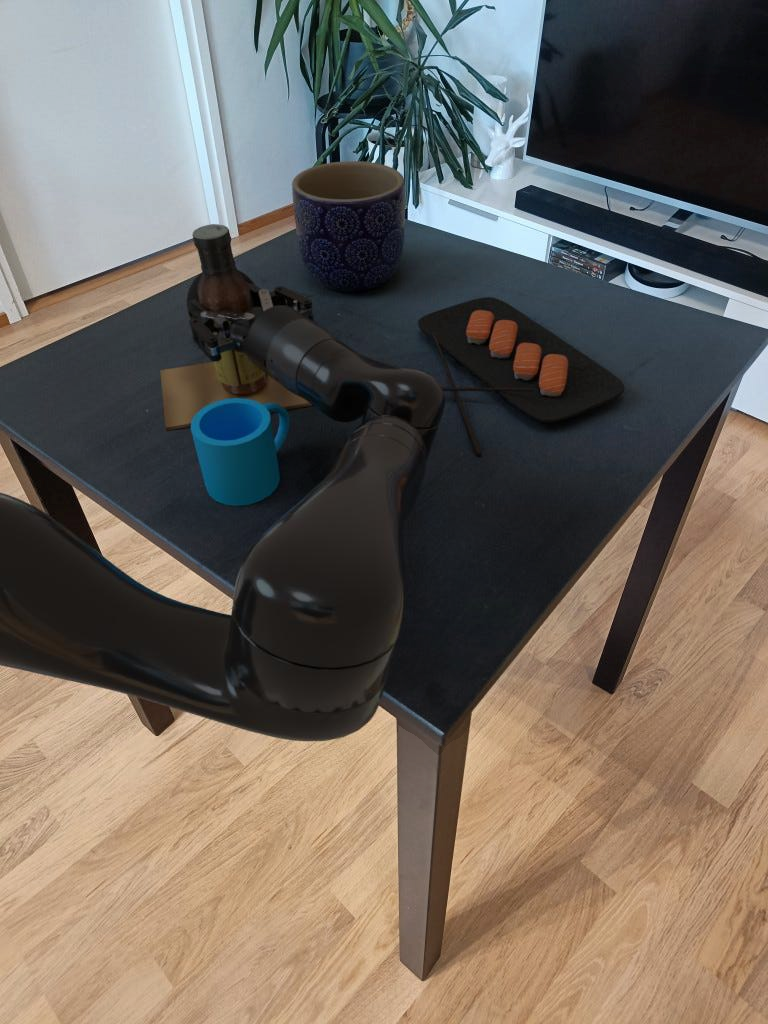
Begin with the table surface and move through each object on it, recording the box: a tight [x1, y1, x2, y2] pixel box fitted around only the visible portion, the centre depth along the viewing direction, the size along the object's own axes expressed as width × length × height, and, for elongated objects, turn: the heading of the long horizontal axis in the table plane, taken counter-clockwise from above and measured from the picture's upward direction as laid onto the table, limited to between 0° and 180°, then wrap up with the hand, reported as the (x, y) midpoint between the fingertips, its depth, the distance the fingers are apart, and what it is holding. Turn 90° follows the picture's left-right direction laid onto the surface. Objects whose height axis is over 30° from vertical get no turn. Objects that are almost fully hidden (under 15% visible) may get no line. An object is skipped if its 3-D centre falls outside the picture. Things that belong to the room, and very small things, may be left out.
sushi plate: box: [417, 296, 626, 457], centre depth 91 cm, size 29×30×4 cm
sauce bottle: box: [192, 223, 268, 395], centre depth 85 cm, size 6×6×20 cm
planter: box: [291, 160, 406, 292], centre depth 108 cm, size 17×16×15 cm
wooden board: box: [159, 361, 313, 432], centre depth 92 cm, size 20×13×1 cm, turn 105°
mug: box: [190, 398, 290, 507], centre depth 77 cm, size 12×8×8 cm
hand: (217, 298), depth 85 cm, fingers closed on sauce bottle, 6 cm apart
